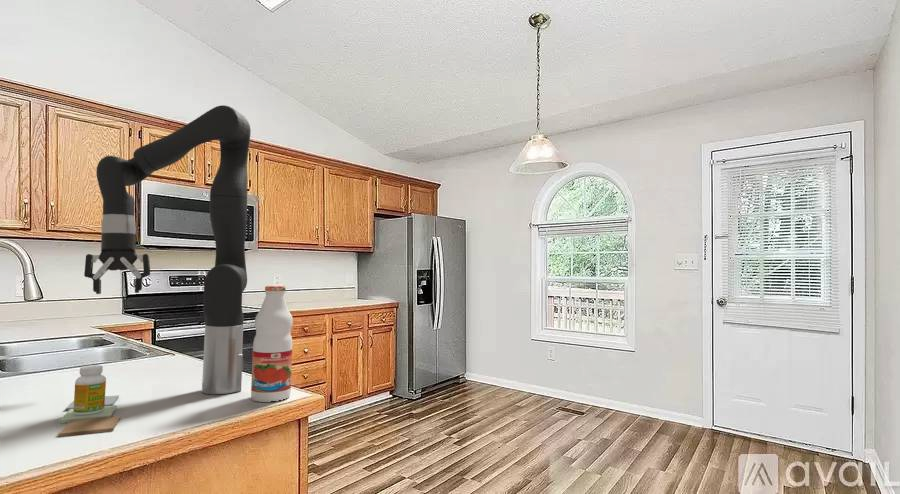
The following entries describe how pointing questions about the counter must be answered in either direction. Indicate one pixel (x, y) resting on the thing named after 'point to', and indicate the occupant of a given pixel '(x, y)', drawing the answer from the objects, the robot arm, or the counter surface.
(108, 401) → the slate pad
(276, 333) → the fruit juice
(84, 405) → the supplement bottle
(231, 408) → the counter surface
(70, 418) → the sage pad
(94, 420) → the walnut pad
